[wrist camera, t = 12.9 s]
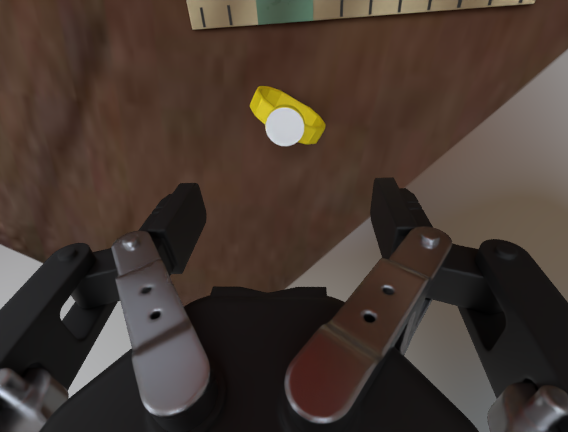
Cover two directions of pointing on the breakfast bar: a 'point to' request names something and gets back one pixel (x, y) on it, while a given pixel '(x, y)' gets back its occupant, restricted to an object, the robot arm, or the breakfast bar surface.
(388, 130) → the breakfast bar surface
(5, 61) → the breakfast bar surface
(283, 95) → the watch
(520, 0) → the ruler
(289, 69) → the breakfast bar surface
